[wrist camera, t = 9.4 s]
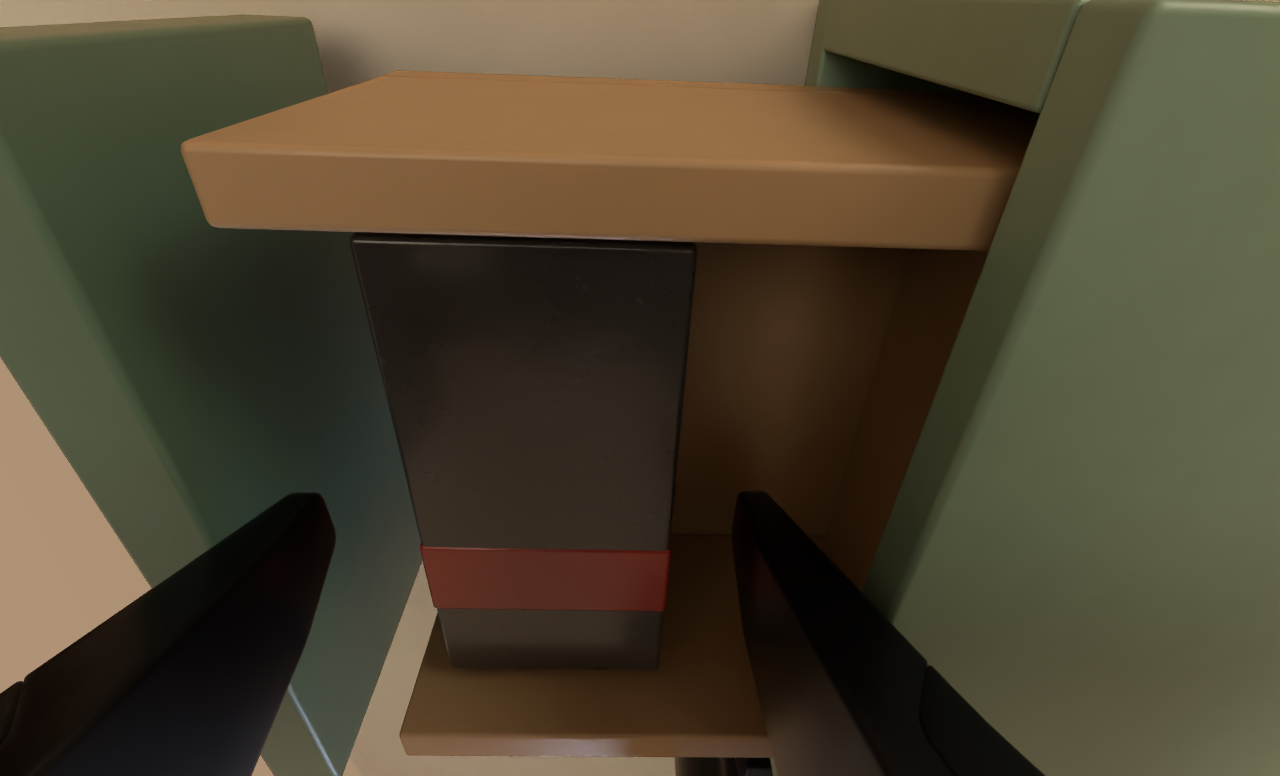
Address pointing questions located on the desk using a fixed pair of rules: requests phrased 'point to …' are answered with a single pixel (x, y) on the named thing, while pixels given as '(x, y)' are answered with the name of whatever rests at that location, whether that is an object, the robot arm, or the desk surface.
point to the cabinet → (1101, 384)
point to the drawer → (479, 206)
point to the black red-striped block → (537, 434)
